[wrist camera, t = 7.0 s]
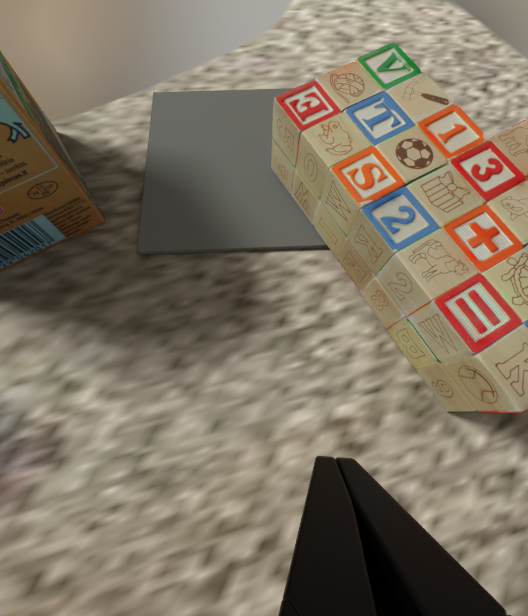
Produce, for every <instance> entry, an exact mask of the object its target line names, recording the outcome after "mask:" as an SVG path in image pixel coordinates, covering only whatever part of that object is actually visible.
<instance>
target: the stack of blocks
mask: <svg viewBox="0 0 528 616" xmlns="http://www.w3.org/2000/svg"><path fill="white" fill-rule="evenodd" d="M272 137H273V138H272V159H271V168H272V170H273V171H274V173H275V174H276V175H277V177H278V178H279V179H280V181H281V182H282V184H283V185H284V186H285V188H286V189H287V191H288V192H289V193H290V194H291V195H292V197H293V198H294V200H295V201H296V203H297V204H298V205H299V207H300V208H301V210H302V211H303V212H304V214H305V215H306V217H307V218H308V219H309V221H310V222H311V224H312V225H314V227H315V229H316V230H317V231H318V233H319V234H320V236H321V237H322V239H323V240H324V241H325V243H326V244H327V246H328V247H329V248H330V250H331V251H332V252H333V254H334V255H335V256H336V257H337V259H338V261H339V262H340V264H341V265H342V266H343V268H344V269H345V271H346V272H347V274H348V275H349V276H350V277H351V279H352V280H353V282H354V283H355V285H356V287H357V288H358V289H359V290H360V292H361V294H362V296H363V297H364V299H365V300H366V302H367V303H368V305H369V306H370V307H371V309H372V310H373V311H374V313H375V314H376V316H377V317H378V318H379V320H380V321H381V323H382V324H383V325H384V326H385V328H386V329H387V330H388V332H389V334H390V335H391V337H392V338H393V339H394V341H395V342H396V343H397V345H398V346H399V348H400V349H401V350H402V352H403V353H404V355H405V356H406V358H407V359H408V360H409V362H410V363H411V364H412V366H413V367H414V368H415V369H417V371H418V373H419V375H420V376H421V377H422V379H423V380H424V382H425V383H426V384H427V386H428V387H429V388H430V390H431V391H432V392H433V394H434V395H435V397H436V398H437V400H438V401H439V402H440V404H441V405H442V406H443V408H444V409H445V410H446V411H447V412H475V411H478V412H480V413H522V412H524V411H526V410H528V119H527V120H524V121H522V122H520V123H518V124H517V125H514V126H513V127H511V128H509V129H507V130H505V131H503V132H501V133H499V134H497V135H495V136H493V137H492V138H490V139H489V140H488V141H487V140H486V137H485V135H484V133H483V132H482V131H481V130H480V129H479V128H478V127H477V125H476V124H475V123H474V122H473V121H472V120H471V119H470V118H469V117H468V116H467V115H466V114H465V113H464V112H463V111H462V110H461V108H460V107H458V106H457V105H455V104H454V103H453V101H452V100H451V99H450V98H449V97H448V96H447V95H446V94H445V93H444V92H443V91H442V89H441V88H440V87H439V86H438V85H437V84H436V83H435V82H434V81H433V80H432V79H431V78H430V77H429V76H428V75H427V74H426V73H424V72H421V71H420V68H419V67H417V66H416V64H415V63H414V62H413V61H412V60H411V59H410V58H409V57H408V56H407V55H406V54H405V53H404V52H403V51H402V50H401V49H400V48H399V47H398V45H397V44H395V43H394V42H393V43H390V44H388V45H385V46H383V47H381V48H379V49H376V50H374V51H372V52H370V53H368V54H365V55H363V56H361V57H359V58H357V59H356V61H355V62H352V63H350V64H347V65H345V66H342V67H340V68H338V69H336V70H333V71H331V72H329V73H326V74H324V75H322V76H319V77H317V78H316V79H315V81H311V82H309V83H306V84H304V85H301V86H299V87H296V88H294V89H292V90H290V91H287V92H285V93H283V94H281V95H279V96H277V97H275V98H274V103H273V124H272Z"/></svg>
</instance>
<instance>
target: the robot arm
mask: <svg viewBox="0 0 528 616" xmlns="http://www.w3.org/2000/svg"><path fill="white" fill-rule="evenodd" d="M278 616H511V615H507V613H506V610H505V609H504V608H503V607H502V606H501V605H500V604H499V603H498V602H497V601H496V600H495V599H494V598H493V597H492V596H491V595H490V594H489V593H488V592H487V591H486V590H485V589H484V588H483V587H482V586H481V585H480V584H479V583H478V582H477V581H476V580H475V579H474V578H473V577H472V576H471V575H470V574H469V573H468V572H467V571H466V570H465V569H464V568H463V567H462V566H461V565H460V564H459V563H458V562H457V561H456V560H455V559H454V558H453V557H452V556H451V555H450V554H449V553H448V552H447V551H446V550H445V549H444V548H443V547H442V546H441V545H440V544H439V543H438V542H437V541H436V540H435V539H434V538H433V537H432V536H431V535H430V534H429V533H428V532H427V531H426V530H425V529H424V528H423V527H422V526H421V525H420V524H419V523H418V522H417V521H416V520H415V519H414V518H413V517H412V516H411V515H410V514H409V513H408V512H407V511H406V510H405V509H404V508H403V507H402V506H401V505H400V504H399V503H398V502H397V501H396V500H395V499H394V498H393V497H392V496H391V495H390V494H389V493H388V492H387V491H386V490H385V489H384V488H383V487H382V486H381V485H380V484H379V483H378V482H377V481H376V480H375V479H374V478H373V477H372V476H371V475H370V474H369V473H368V472H367V471H366V470H365V469H364V468H363V467H362V466H361V465H360V464H359V463H358V462H357V461H355V460H354V459H352V458H340V457H337V458H336V459H334V458H333V457H327V456H317V457H316V459H315V463H314V467H313V472H312V476H311V480H310V484H309V489H308V493H307V497H306V501H305V506H304V510H303V514H302V518H301V523H300V527H299V531H298V536H297V540H296V544H295V548H294V553H293V557H292V561H291V565H290V570H289V574H288V578H287V582H286V587H285V591H284V595H283V601H282V603H281V607H280V611H279V615H278Z"/></svg>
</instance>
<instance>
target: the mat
mask: <svg viewBox="0 0 528 616" xmlns="http://www.w3.org/2000/svg"><path fill="white" fill-rule="evenodd" d="M293 89H294V88H293ZM290 90H292V89H259V90H225V91H191V92H157V93H153V102H152V112H151V121H150V131H149V141H148V150H147V160H146V170H145V180H144V189H143V199H142V209H141V218H140V228H139V238H138V247H137V252H138V254H139V255H142V254H170V253H197V252H224V251H251V250H278V249H305V248H329V247H328V246H327V244H326V243H325V241H324V240H323V239H322V237H321V236H320V234H319V233H318V231H317V230H316V229H315V227H314V225H312V224H311V222H310V221H309V219H308V218H307V217H306V215H305V214H304V212H303V211H302V210H301V208H300V207H299V205H298V204H297V203H296V201H295V200H294V198H293V197H292V195H291V194H290V193H289V192H288V191H287V189H286V188H285V186H284V185H283V184H282V182H281V181H280V179H279V178H278V177H277V175H276V174H275V173H274V171H273V170H272V168H271V159H272V138H273V137H272V124H273V103H274V98H275V97H277V96H279V95H281V94H283V93H285V92H287V91H290Z"/></svg>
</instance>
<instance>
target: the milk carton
mask: <svg viewBox="0 0 528 616" xmlns="http://www.w3.org/2000/svg"><path fill="white" fill-rule="evenodd" d="M103 222H105V219H104V217H103V215H102V213H101V211H100V209H99V208H98V206H97V204H96V202H95V200H94V198H93V197H92V195H91V193H90V191H89V189H88V187H87V186H86V184H85V182H84V180H83V178H82V176H81V174H80V173H79V171H78V169H77V167H76V165H75V163H74V162H73V160H72V158H71V156H70V154H69V152H68V151H67V149H66V147H65V145H64V143H63V141H62V140H61V138H60V136H59V134H58V132H57V131H56V129H55V128H54V127H53V125H52V124H51V122H50V121H49V119H48V118H47V117H46V115H45V114H44V112H43V111H42V110H41V108H40V107H39V105H38V104H37V102H36V101H35V100H34V98H33V97H32V96H31V94H30V93H29V91H28V90H27V88H26V87H25V85H24V84H23V83H22V81H21V80H20V78H19V77H18V75H17V74H16V73H15V71H14V70H13V68H12V67H11V66H10V64H9V63H8V62H7V60H6V58H5V57H4V56H3V54H2V53H1V51H0V272H1V271H3V270H6V269H8V268H10V267H12V266H14V265H16V264H18V263H20V262H22V261H24V260H26V259H28V258H30V257H32V256H35V255H37V254H39V253H41V252H43V251H45V250H47V249H49V248H51V247H53V246H55V245H57V244H59V243H61V242H64V241H66V240H68V239H70V238H72V237H74V236H76V235H78V234H80V233H82V232H84V231H86V230H88V229H91V228H93V227H95V226H97V225H99V224H101V223H103Z"/></svg>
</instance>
